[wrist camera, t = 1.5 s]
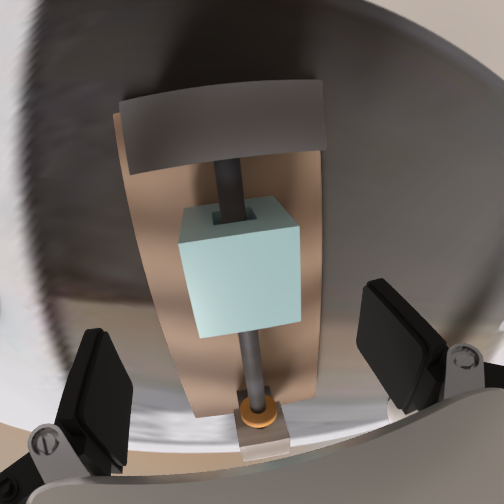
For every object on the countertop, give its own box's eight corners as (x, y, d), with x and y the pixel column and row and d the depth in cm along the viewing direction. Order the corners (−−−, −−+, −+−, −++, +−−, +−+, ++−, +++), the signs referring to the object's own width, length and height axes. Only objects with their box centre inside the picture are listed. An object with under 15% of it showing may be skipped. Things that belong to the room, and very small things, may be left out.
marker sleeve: (183, 207, 17) (178, 243, 12) (272, 195, 17) (299, 226, 13) (198, 285, 19) (200, 338, 14) (277, 273, 19) (300, 321, 15)
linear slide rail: (119, 114, 16) (73, 114, 10) (308, 91, 18) (365, 81, 11) (195, 406, 28) (199, 469, 21) (310, 386, 29) (333, 444, 23)
